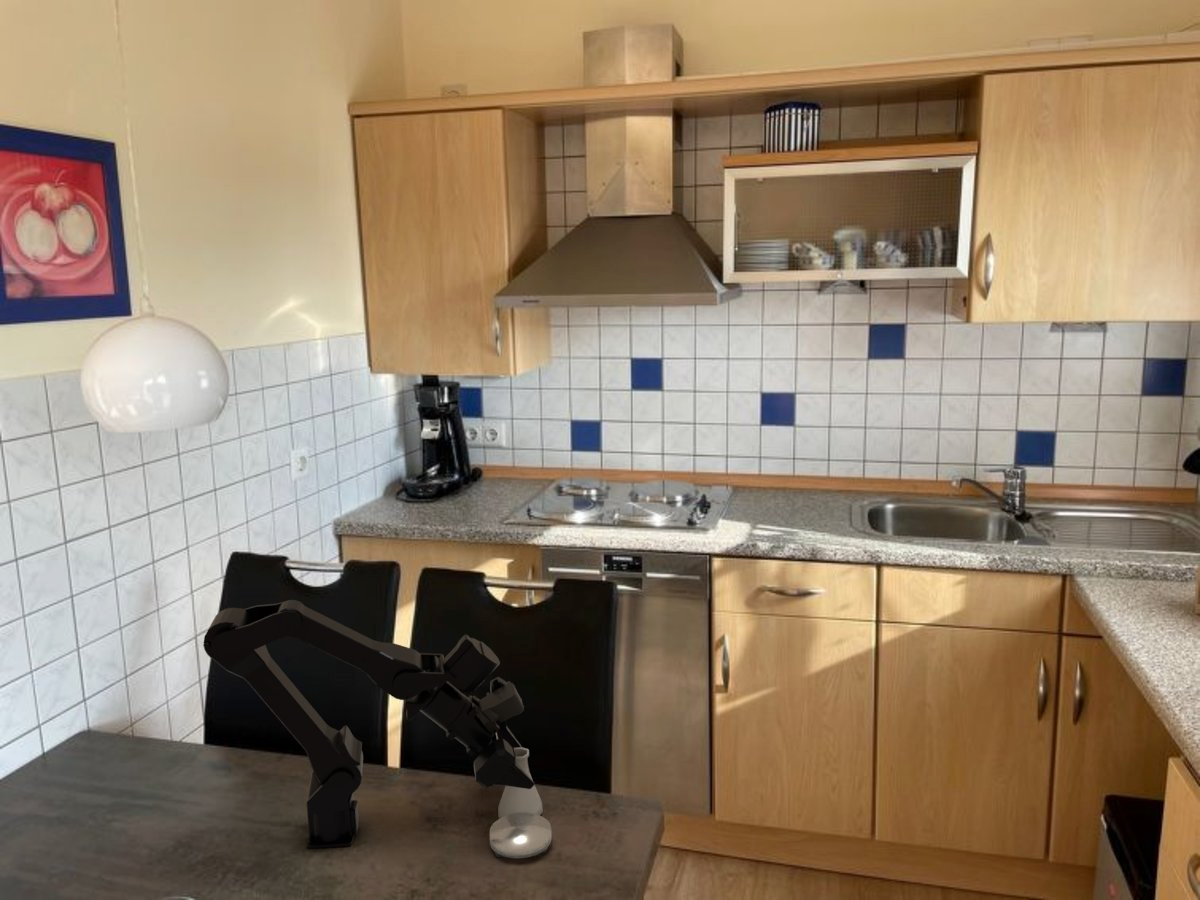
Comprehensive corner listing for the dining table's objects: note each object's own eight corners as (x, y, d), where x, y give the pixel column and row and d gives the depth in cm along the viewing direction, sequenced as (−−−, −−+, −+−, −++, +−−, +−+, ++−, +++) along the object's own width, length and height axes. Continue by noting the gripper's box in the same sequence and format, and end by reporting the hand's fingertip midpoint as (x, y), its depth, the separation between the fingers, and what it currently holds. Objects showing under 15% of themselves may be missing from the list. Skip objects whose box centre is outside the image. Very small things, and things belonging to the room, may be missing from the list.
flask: (536, 827, 139) (535, 766, 137) (491, 822, 140) (489, 761, 139) (548, 801, 146) (547, 742, 144) (505, 796, 147) (503, 738, 146)
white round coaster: (489, 866, 130) (488, 850, 129) (490, 829, 138) (490, 814, 138) (552, 862, 130) (552, 846, 130) (550, 825, 139) (550, 810, 139)
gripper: (496, 699, 129) (575, 762, 133) (484, 648, 147) (554, 705, 151) (442, 757, 129) (522, 819, 133) (437, 699, 147) (507, 755, 151)
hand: (528, 770), depth 142 cm, fingers open, 9 cm apart
